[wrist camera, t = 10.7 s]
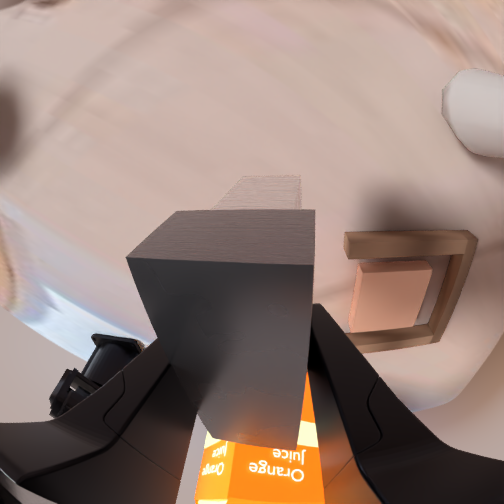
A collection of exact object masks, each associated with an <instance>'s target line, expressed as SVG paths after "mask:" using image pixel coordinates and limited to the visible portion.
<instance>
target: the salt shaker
mask: <svg viewBox="0 0 504 504" xmlns="http://www.w3.org/2000/svg"><path fill="white" fill-rule="evenodd" d="M442 115H443V117H444V118H445V120H446V121H447V122H448V124H449V125H450V127H451V128H452V130H453V132H454V133H455V135H456V137H457V138H458V139H459V140H460V141H461V142H462V143H463V144H464V145H465V147H466V148H467V149H468V150H469V151H471V152H472V153H475V154H479V155H483V156H488V157H498V158H504V75H501V74H497V73H493V72H490V71H485V70H481V69H477V68H473V69H467V70H462V71H459V72H458V73H457V74H456V75H455V76H454V77H453V79H452V80H451V81H450V82H449V83H448V84H447V85H446V86H445V87H444V88H443V89H442Z"/></svg>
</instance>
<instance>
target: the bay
mask: <svg viewBox="0 0 504 504" xmlns="http://www.w3.org/2000/svg"><path fill="white" fill-rule="evenodd" d="M477 242H478V239H477V238H476V237H475V236H474V235H472V234H471V233H470V232H469V231H468V230H439V231H371V232H345V236H344V250H345V252H346V255H347V257H348V259H371V258H393V257H414V256H434V255H451V259H450V263H449V266H448V269H447V273H446V276H445V279H444V282H443V285H442V288H441V291H440V294H439V297H438V299H437V302H436V305H435V307H434V310H433V313H432V315H431V318H430V320H429V322H428V324H424V325H417V326H413V327H405V328H397V329H388V330H378V331H367V332H355V333H345V334H346V335H347V336H348V338H349V339H350V340H351V341H352V342H353V344H354V345H355V346H356V347H357V349H358V350H359V351H360V352H361V354H362V353H372V352H380V351H388V350H395V349H402V348H408V347H414V346H420V345H426V344H431V343H436V342H439V341H440V339H441V337H442V335H443V333H444V331H445V329H446V326H447V324H448V322H449V320H450V318H451V315H452V313H453V311H454V308H455V306H456V304H457V301H458V299H459V296H460V294H461V291H462V288H463V286H464V283H465V280H466V277H467V274H468V271H469V268H470V265H471V262H472V259H473V256H474V252H475V249H476V245H477Z"/></svg>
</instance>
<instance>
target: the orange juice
mask: <svg viewBox="0 0 504 504" xmlns="http://www.w3.org/2000/svg"><path fill="white" fill-rule="evenodd" d="M323 490H324V489H323V482H322V473H321V464H320V456H319V448H318V440H317V433H316V426H315V419H314V412H313V405H312V398H311V391H310V385H309V379H308V373H307V376H306V385H305V393H304V402H303V409H302V416H301V423H300V430H299V436H298V443H297V449H296V451H292V450H282V449H273V448H265V447H257V446H251V445H245V444H239V443H234V442H228V441H224V440H219V439H214V438H212V437H211V435H210V433H209V432H207V436H206V441H205V446H204V454H203V459H202V464H201V468H200V473H199V479H198V484H197V488H196V494H195V498H194V499H195V501H196V504H325V501H324V491H323Z"/></svg>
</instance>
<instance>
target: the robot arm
mask: <svg viewBox="0 0 504 504" xmlns="http://www.w3.org/2000/svg"><path fill="white" fill-rule="evenodd" d="M91 338H92V340H93V342H94V343H95V345H96V348H95V350H94V352H93V353H92V355H91V357H90V358H89V360H88V362H87V364H86V365H85V367H84V369H83V371H82V373H80V372H78V370H77V369H75V368H74V370H73V371H72V370H69V369H66V371H65V373H64V374H63V376H62V378H61V380H60V381H59V383H58V385H57V386H56V388H55V389H54V391H53V392H52V394H51V396H50V398H49V400H50V403H51V407H50V408H51V409H52V410H51V412H50V414H49V415H50V416H52V417H53V418H55V419H53V420H50V421H45V422H31V423H29V422H28V423H0V504H175V503H176V499H177V495H178V490H179V486H180V480H181V477H182V473H183V469H184V464H185V460H186V456H187V452H188V448H189V444H190V440H191V435H192V431H193V427H194V423H195V419H196V415H197V412H196V410H195V408H194V406H193V405H192V403H191V401H190V399H189V398H188V396H187V394H186V392H185V390H184V389H183V387H182V385H181V383H180V381H179V379H178V377H177V375H176V373H175V371H174V369H173V367H172V365H171V364H170V362H169V360H168V358H167V356H166V354H165V352H164V350H163V348H162V346H161V344H160V341H159V339H158V338H157V339H156V340H155V341H154V342H153V343H151V344H150V345H149V346H148V347H147V348H146V349H145V350H143V351H141V349H140V348H139V346H138V344H137V342H136V341H134V340H132V339H124V338H117V337H110V336H104V335H97V334H93V335H92V336H91ZM307 370H308V379H309V385H310V391H311V398H312V405H313V412H314V419H315V426H316V433H317V440H318V448H319V456H320V464H321V473H322V482H323V489H324V490H323V491H324V501H325V504H504V461H502V460H497V459H492V458H488V457H484V456H480V455H476V454H472V453H468V452H465V451H461V450H458V449H455V448H453V447H450V446H449V445H447V444H445V443H444V442H442V441H441V440H440V439H439V438H437V437H436V436H435V435H434V434H433V433H432V432H431V431H430V430H429V429H428V428H427V427H426V426H425V425H424V424H423V423H422V422H421V421H420V420H419V419H418V418H417V417H416V416H415V415H414V414H413V413H412V412H411V411H410V410H409V409H408V408H407V407H406V406H405V405H404V404H403V403H402V402H401V401H400V400H399V399H398V398H397V397H396V395H395V394H394V393H393V392H392V391H391V389H390V388H389V387H388V386H387V385H386V383H385V382H384V381H383V380H382V378H381V377H379V375H378V373H377V372H376V371H375V370H374V368H373V367H372V366H371V365H370V363H369V362H368V361H367V360H366V358H365V357H364V356H363V355H362V354H361V352H360V351H359V350H358V349H357V347H356V346H355V345H354V344H353V342H352V341H351V340H350V339H349V338H348V336H347V335H346V334H345V333H344V331H343V330H342V329H341V328H340V327H339V325H338V324H337V323H336V322H335V320H334V319H333V318H332V317H331V316H330V314H329V313H328V312H327V311H326V310H325V308H324V307H323V306H322V305H321V304H319V303H315V304H312V318H311V332H310V344H309V356H308V366H307ZM378 377H379V378H378ZM70 386H71V387H73V388H74V389H76V391H74V390H72V389H71V388H70Z"/></svg>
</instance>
